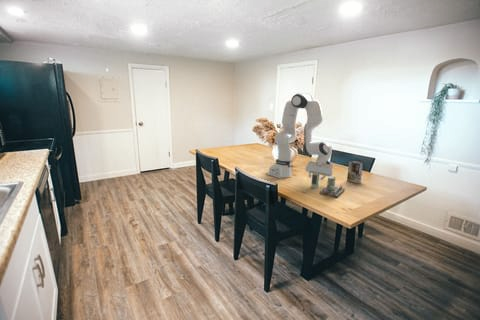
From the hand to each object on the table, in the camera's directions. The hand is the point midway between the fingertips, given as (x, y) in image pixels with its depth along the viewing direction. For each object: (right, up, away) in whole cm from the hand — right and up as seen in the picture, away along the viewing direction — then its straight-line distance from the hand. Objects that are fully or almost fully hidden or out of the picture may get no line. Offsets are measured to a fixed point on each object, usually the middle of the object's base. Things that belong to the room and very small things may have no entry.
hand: (315, 178), depth 186 cm
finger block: (0, -7, +2) cm, 7 cm away
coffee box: (+36, -4, +16) cm, 40 cm away
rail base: (+10, -9, -8) cm, 16 cm away
